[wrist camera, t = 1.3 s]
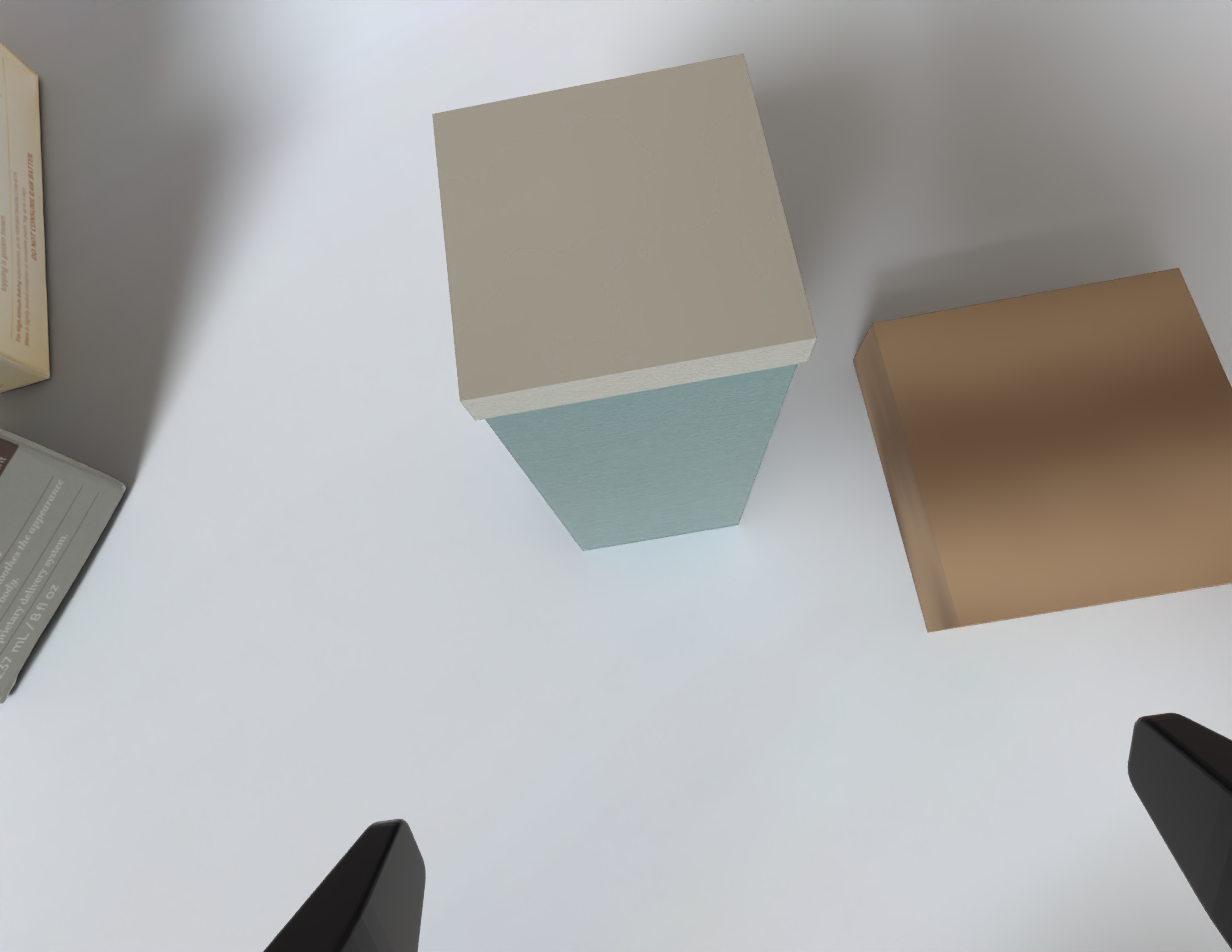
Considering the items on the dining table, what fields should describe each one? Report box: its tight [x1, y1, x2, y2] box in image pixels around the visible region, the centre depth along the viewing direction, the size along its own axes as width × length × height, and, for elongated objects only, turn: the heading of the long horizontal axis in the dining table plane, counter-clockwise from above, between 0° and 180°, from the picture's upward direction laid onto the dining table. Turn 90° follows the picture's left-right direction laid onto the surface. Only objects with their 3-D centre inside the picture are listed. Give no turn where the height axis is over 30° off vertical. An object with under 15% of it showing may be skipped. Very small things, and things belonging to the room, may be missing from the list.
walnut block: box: [853, 268, 1232, 632], centre depth 21 cm, size 9×9×3 cm
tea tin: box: [432, 54, 817, 551], centre depth 17 cm, size 5×5×13 cm
